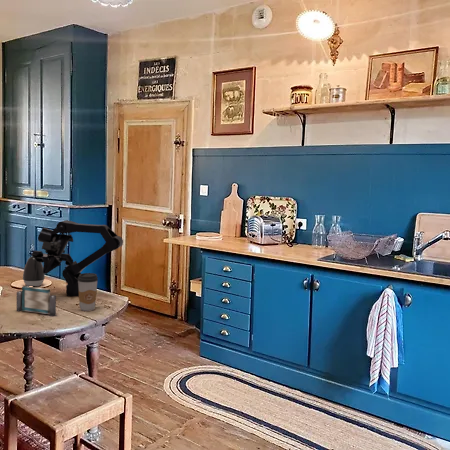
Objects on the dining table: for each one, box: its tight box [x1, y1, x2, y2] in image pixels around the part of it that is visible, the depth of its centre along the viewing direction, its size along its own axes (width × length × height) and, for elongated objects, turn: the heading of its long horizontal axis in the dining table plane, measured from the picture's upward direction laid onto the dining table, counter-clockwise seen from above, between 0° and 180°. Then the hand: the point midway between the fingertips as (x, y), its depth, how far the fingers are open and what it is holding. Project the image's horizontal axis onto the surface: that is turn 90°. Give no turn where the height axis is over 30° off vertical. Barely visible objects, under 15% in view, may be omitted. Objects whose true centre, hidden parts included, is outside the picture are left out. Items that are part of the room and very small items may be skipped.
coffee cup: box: [78, 272, 99, 312], centre depth 202 cm, size 8×8×15 cm
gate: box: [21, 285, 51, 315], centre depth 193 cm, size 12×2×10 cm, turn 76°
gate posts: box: [16, 290, 57, 317], centre depth 194 cm, size 18×2×8 cm, turn 76°
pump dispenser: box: [22, 256, 46, 287], centre depth 236 cm, size 10×10×15 cm
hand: (44, 273), depth 210 cm, fingers closed
